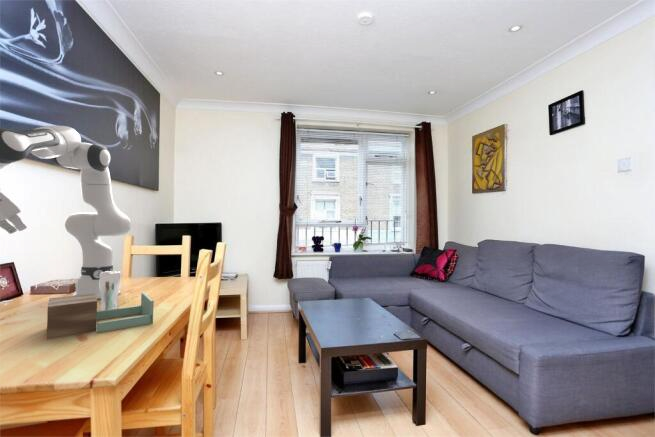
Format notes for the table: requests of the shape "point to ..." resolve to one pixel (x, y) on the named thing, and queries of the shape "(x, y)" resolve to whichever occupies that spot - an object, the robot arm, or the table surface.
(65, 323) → the walnut block
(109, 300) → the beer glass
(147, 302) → the green bay
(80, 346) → the table surface
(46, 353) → the table surface
